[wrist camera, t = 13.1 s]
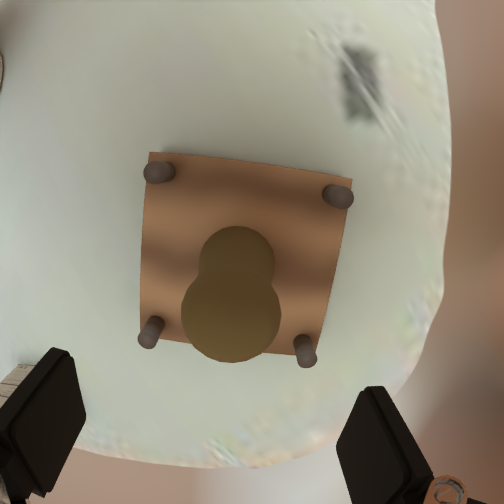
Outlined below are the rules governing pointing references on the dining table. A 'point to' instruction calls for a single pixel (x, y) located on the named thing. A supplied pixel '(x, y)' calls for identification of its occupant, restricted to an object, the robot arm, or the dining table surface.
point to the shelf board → (246, 215)
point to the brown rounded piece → (232, 297)
